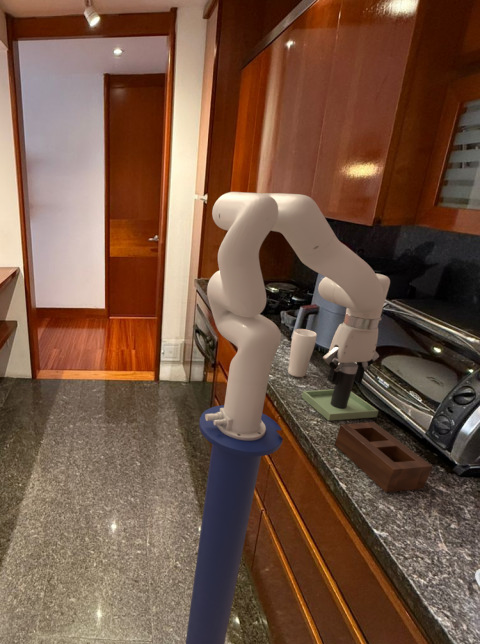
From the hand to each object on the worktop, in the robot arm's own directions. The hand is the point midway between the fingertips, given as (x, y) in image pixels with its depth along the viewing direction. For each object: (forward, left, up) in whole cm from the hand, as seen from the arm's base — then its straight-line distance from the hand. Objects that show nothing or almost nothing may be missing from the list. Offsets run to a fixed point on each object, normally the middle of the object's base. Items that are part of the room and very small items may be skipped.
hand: (344, 381), depth 107 cm
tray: (0, 0, -8) cm, 8 cm away
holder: (-8, -24, -8) cm, 26 cm away
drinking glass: (0, +20, -9) cm, 22 cm away
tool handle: (0, 0, -8) cm, 8 cm away
